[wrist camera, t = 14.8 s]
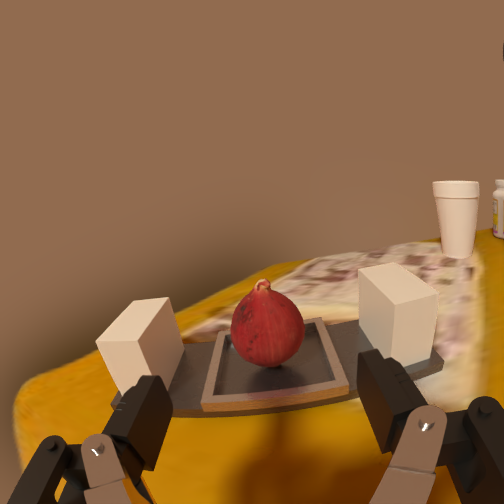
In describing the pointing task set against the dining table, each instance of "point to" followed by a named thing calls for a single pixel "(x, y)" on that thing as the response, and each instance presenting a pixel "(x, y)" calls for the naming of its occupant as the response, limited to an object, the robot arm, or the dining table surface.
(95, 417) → the dining table surface
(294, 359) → the mounting plate
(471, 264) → the dining table surface
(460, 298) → the dining table surface
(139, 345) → the mounted modules
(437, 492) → the dining table surface
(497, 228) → the supplement bottle
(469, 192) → the foam cup
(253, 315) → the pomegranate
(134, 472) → the robot arm
